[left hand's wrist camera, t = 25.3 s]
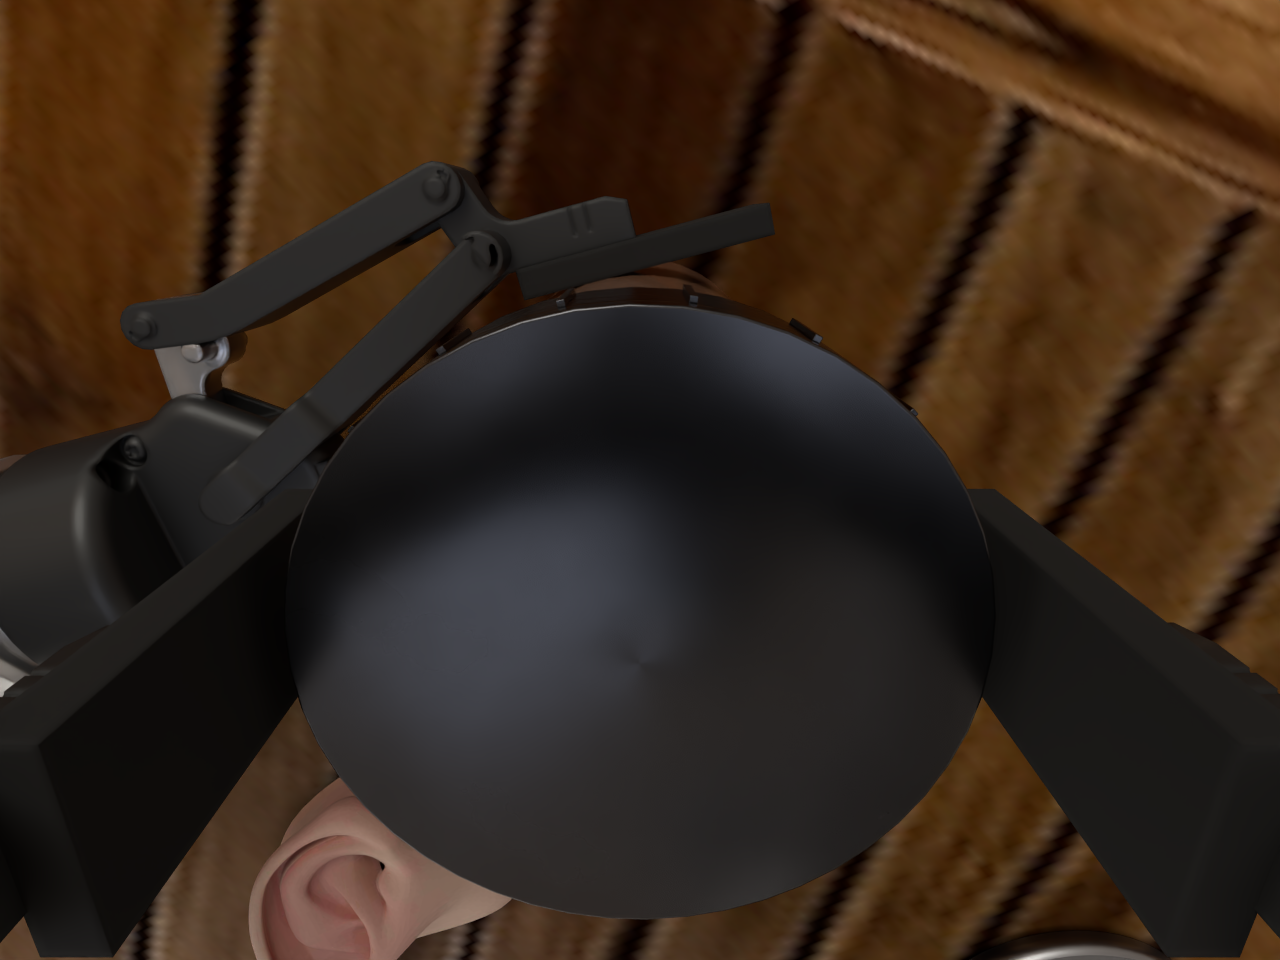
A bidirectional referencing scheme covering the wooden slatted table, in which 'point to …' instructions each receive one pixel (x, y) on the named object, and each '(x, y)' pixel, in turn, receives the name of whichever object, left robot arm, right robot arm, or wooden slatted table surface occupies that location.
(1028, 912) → the wooden slatted table surface
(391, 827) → the lid
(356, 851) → the anatomical model
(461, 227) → the right robot arm
